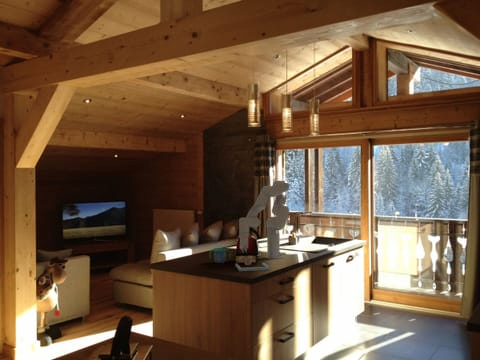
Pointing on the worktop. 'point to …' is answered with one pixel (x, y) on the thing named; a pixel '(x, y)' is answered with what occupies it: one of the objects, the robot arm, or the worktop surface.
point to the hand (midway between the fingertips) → (244, 258)
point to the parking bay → (253, 268)
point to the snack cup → (220, 254)
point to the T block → (246, 259)
